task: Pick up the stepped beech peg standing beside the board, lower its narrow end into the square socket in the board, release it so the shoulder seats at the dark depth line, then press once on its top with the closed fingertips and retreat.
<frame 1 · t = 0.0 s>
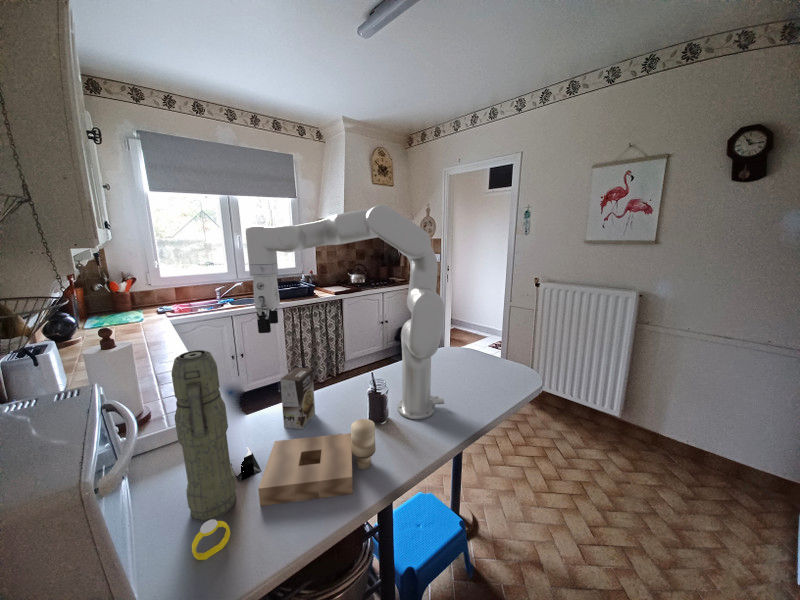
hand: (269, 327, 91), 31 cm above the table, fingers open, 9 cm apart
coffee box: (300, 420, 99), on the table
thermos: (214, 505, 68), on the table
watch: (213, 552, 58), on the table
peg: (364, 464, 80), on the table
black angular piece: (246, 469, 79), on the table
board: (311, 473, 77), on the table
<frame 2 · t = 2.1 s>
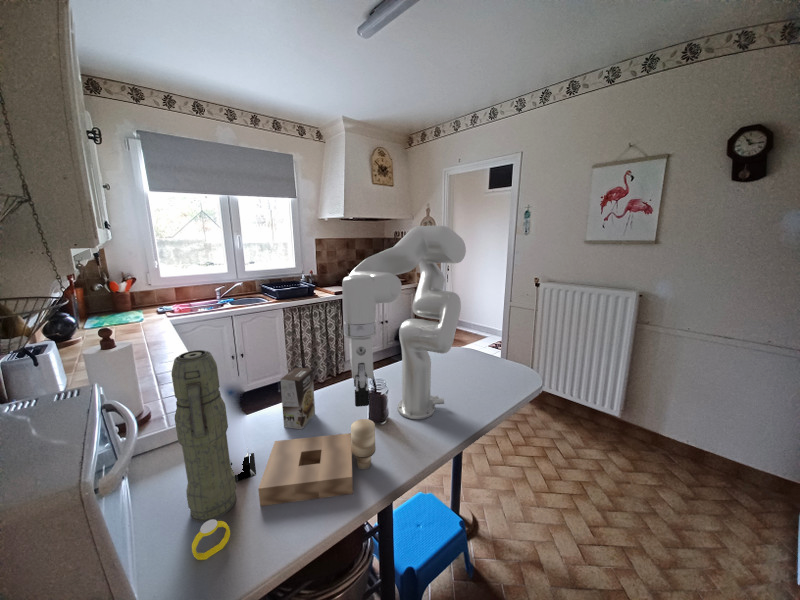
hand: (361, 395, 76), 20 cm above the table, fingers open, 9 cm apart
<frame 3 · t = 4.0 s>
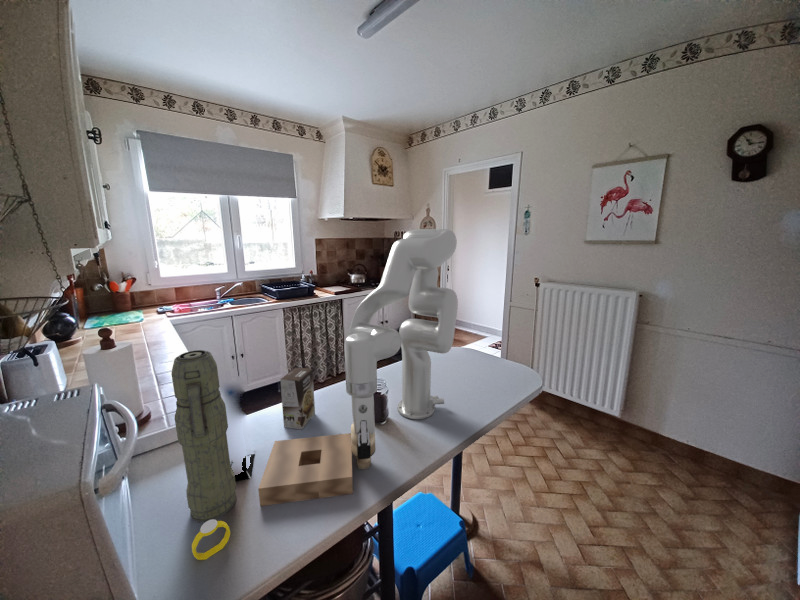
hand: (363, 448, 79), 5 cm above the table, fingers closed on peg, 6 cm apart
peg: (364, 464, 80), on the table, touching gripper
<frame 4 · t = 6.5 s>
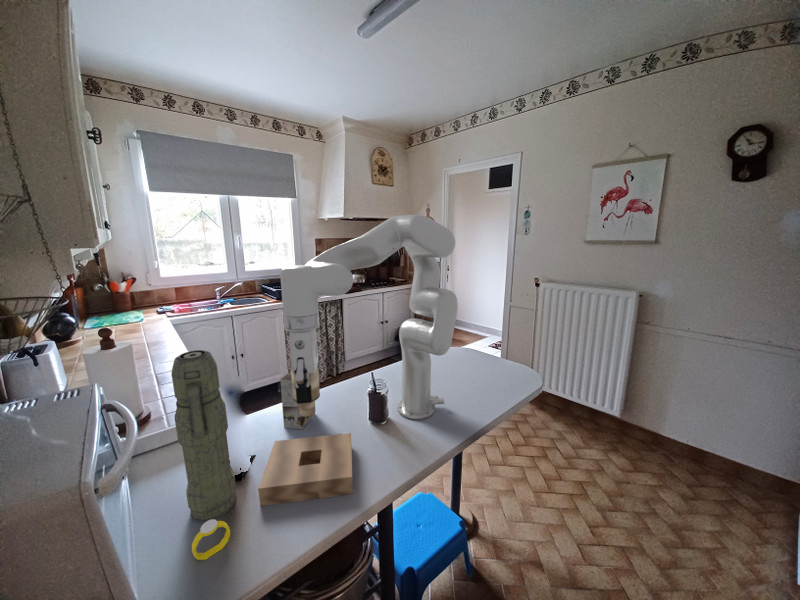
hand: (306, 394, 72), 21 cm above the table, fingers closed on peg, 6 cm apart
peg: (307, 412, 73), point 17 cm above the table, touching gripper
when the fingers open (6 cm above the table, at t = 9.1 s): peg stays where it is, resting on board.
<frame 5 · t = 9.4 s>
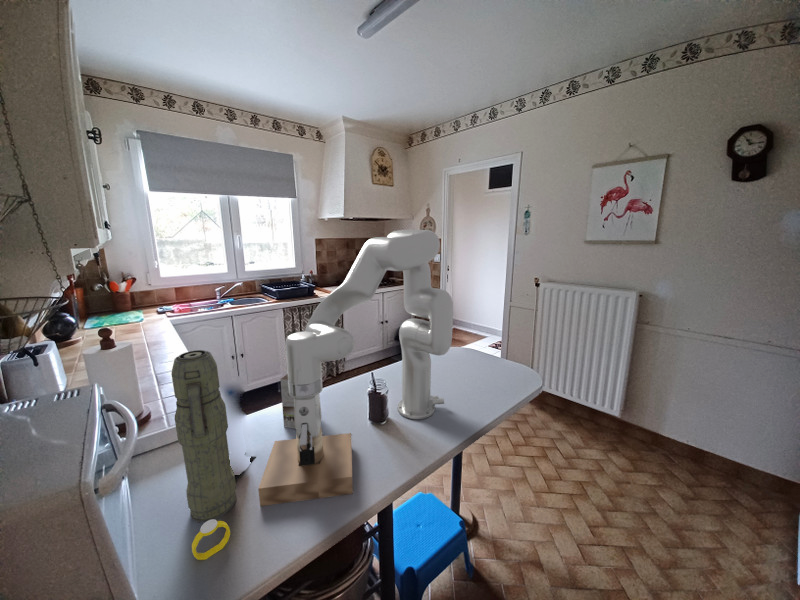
hand: (309, 450, 75), 6 cm above the table, fingers open, 8 cm apart
peg: (311, 471, 77), resting on board
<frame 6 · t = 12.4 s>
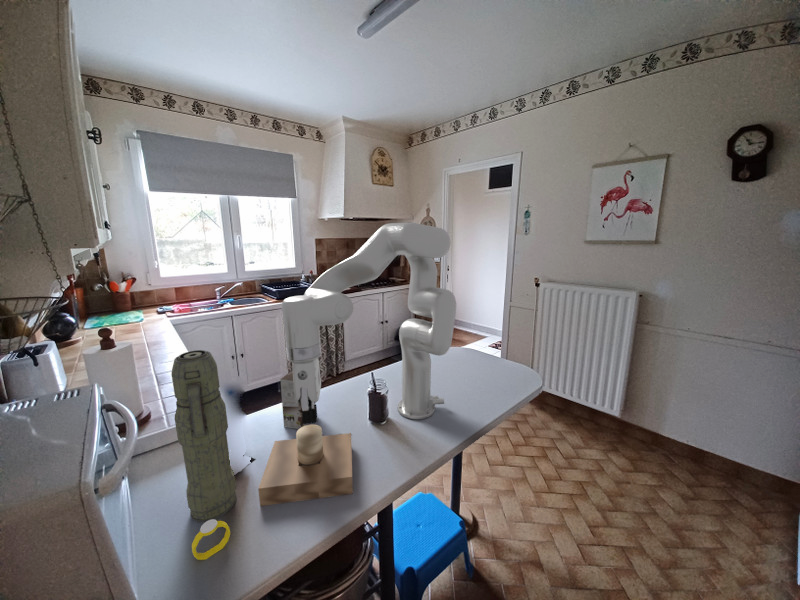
hand: (310, 421, 74), 14 cm above the table, fingers closed
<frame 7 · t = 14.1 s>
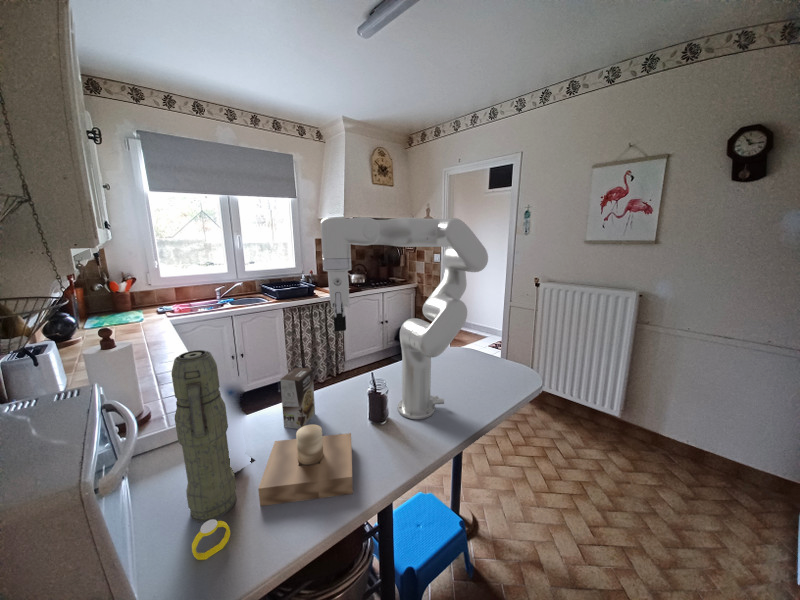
hand: (340, 329, 87), 32 cm above the table, fingers closed
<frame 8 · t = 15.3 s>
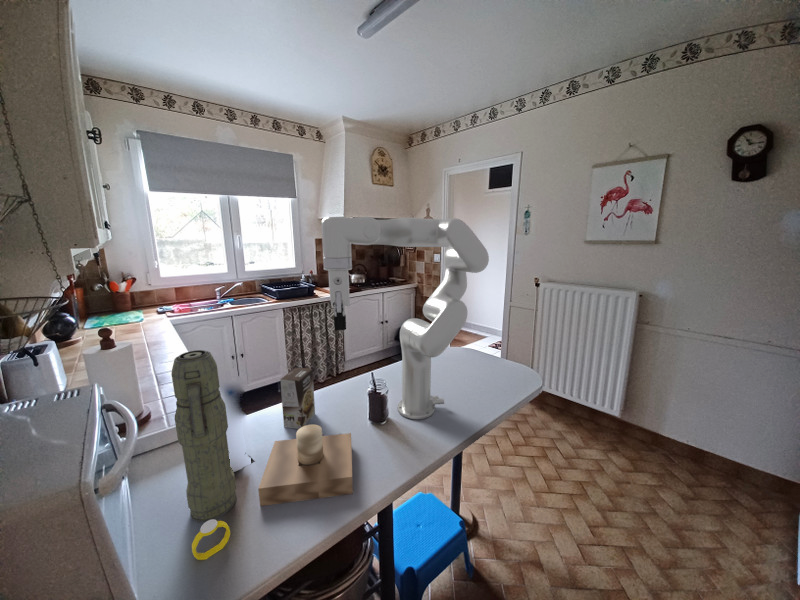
hand: (340, 329, 87), 32 cm above the table, fingers closed
at the end: peg 0.1 cm off-centre in the board, point 0.5 cm above the board's base; peg tilted 0°; the gripper is holding nothing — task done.
